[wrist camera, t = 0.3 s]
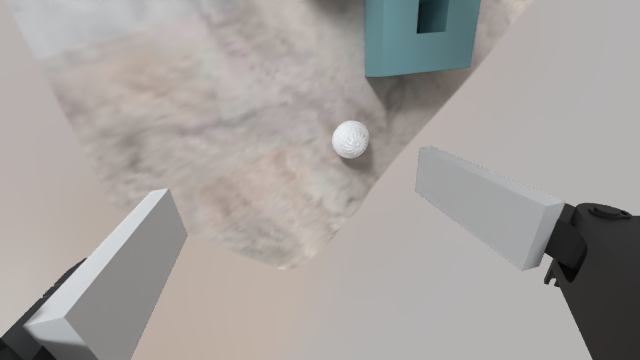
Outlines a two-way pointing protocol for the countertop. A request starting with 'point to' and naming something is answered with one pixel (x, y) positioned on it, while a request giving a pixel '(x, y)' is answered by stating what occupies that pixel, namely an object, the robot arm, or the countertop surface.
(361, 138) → the white ribbed jar
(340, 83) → the countertop surface
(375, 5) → the hole block
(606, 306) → the robot arm
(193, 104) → the countertop surface
